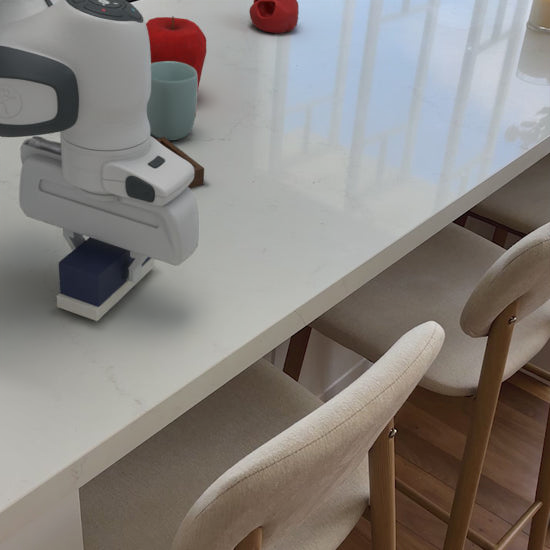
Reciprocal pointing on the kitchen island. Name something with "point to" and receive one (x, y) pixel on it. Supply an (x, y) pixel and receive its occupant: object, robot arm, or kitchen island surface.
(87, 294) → the whiteboard eraser
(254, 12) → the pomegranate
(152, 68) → the cup
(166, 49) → the apple
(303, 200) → the kitchen island surface
